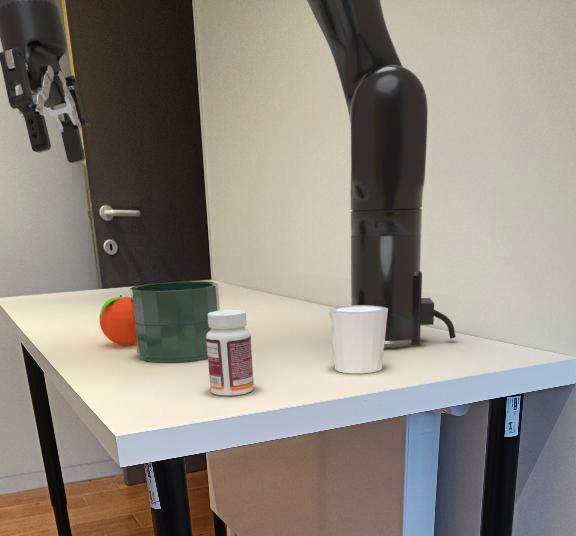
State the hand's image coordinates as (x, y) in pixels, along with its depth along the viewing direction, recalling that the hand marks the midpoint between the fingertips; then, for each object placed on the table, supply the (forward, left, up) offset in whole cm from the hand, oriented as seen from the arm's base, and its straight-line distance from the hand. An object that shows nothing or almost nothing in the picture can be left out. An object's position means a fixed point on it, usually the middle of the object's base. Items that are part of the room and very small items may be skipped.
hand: (60, 156), depth 94 cm
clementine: (-3, -8, -25) cm, 27 cm away
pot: (-13, 0, -25) cm, 28 cm away
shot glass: (-37, +12, -25) cm, 46 cm away
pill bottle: (-23, +22, -25) cm, 40 cm away
